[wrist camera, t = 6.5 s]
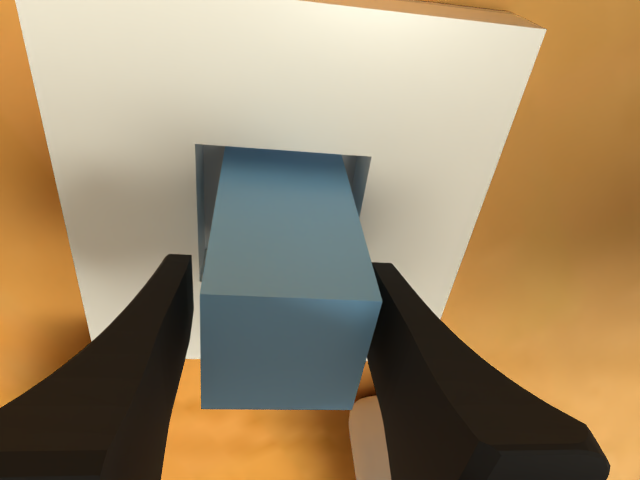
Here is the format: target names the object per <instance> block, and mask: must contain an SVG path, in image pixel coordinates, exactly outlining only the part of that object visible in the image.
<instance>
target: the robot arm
mask: <svg viewBox="0 0 640 480" xmlns="http://www.w3.org/2000/svg"><path fill="white" fill-rule="evenodd" d="M372 266H373V269H374V273H375V276H376V280H377V284H378V287H379V291H380V294H381V298H382V305H381V309H380V312H379V316H378V319H377V323H376V326H375V330H374V333H373V337H372V340H371V344H370V348H369V351H368V355H367V360H368V364H369V368H370V372H371V375H372V379H373V383H374V387H375V391H376V395H377V399H378V403H379V406H380V410H381V415H382V420H383V425H384V431H385V438H386V444H387V451H388V458H389V466H390V473H391V480H606V479H607V478H608V475H609V471H610V464H609V462H608V460H607V458H606V456H605V454H604V453H603V451H602V449H601V448H600V446H599V444H598V443H597V441H596V439H595V438H594V436H593V434H592V433H591V431H590V430H589V428H588V427H587V425H586V424H584V423H582V422H580V421H578V420H577V419H575V418H573V417H571V416H569V415H567V414H566V413H564V412H562V411H560V410H558V409H556V408H555V407H553V406H551V405H549V404H547V403H546V402H544V401H543V400H541V399H539V398H538V397H536V396H535V395H533V394H531V393H530V392H528V391H527V390H525V389H524V388H522V387H521V386H519V385H518V384H516V383H515V382H513V381H512V380H510V379H509V378H507V377H506V376H505V375H503V374H502V373H501V372H499V371H498V370H497V369H495V368H494V367H493V366H491V365H490V364H489V363H487V362H486V361H485V360H484V359H482V358H481V357H480V356H479V355H478V354H476V353H475V352H474V351H473V350H472V349H471V348H469V347H468V346H467V345H466V344H465V343H464V342H463V341H461V340H460V339H459V338H458V337H457V336H456V335H455V334H454V333H453V332H452V331H451V330H450V329H449V328H448V327H447V326H446V325H445V324H444V323H443V322H442V321H441V320H440V319H439V318H438V317H437V316H436V315H435V314H434V313H433V311H432V310H431V309H430V308H429V307H428V306H427V305H426V304H425V302H424V301H423V300H422V299H421V298H420V297H419V295H418V294H417V293H416V292H415V291H414V289H413V288H412V287H411V286H410V285H409V283H408V282H407V281H406V280H405V278H404V277H403V276H402V275H401V274H400V272H399V271H398V270H397V269H396V268H395V266H394V265H393V264H392V263H380V262H372ZM193 312H194V299H193V276H192V255H185V254H168V255H167V256H166V257H165V258H164V259H163V261H162V262H161V264H160V265H159V267H158V268H157V270H156V271H155V272H154V274H153V275H152V276H151V278H150V279H149V280H148V281H147V283H146V284H145V285H144V287H143V288H142V289H141V290H140V291H139V293H138V294H137V295H136V296H135V297H134V299H133V300H132V301H131V302H130V303H129V304H128V306H127V307H126V308H125V309H124V310H123V311H122V312H121V313H120V314H119V315H118V316H117V317H116V318H115V319H114V320H113V321H112V323H111V324H110V325H109V326H108V327H107V328H106V329H105V330H104V331H102V332H101V333H100V334H99V335H98V336H97V337H96V338H95V339H94V340H93V341H92V342H91V343H89V344H88V345H87V346H86V347H85V348H84V349H83V350H82V351H80V352H79V353H78V354H77V355H75V356H74V357H73V358H72V359H70V360H69V361H68V362H67V363H65V364H64V365H63V366H62V367H60V368H59V369H58V370H57V371H55V372H54V373H53V374H51V375H50V376H48V377H47V378H46V379H44V380H43V381H41V382H40V383H38V384H37V385H35V386H34V387H32V388H31V389H29V390H28V391H26V392H25V393H24V394H22V395H21V396H19V397H17V398H16V399H14V400H13V401H11V402H9V403H8V404H6V405H4V406H3V407H1V408H0V480H161V474H162V467H163V460H164V453H165V447H166V440H167V434H168V427H169V422H170V417H171V413H172V408H173V404H174V401H175V397H176V393H177V389H178V385H179V381H180V377H181V373H182V370H183V366H184V362H185V358H186V354H187V350H188V346H189V342H190V335H191V328H192V320H193Z"/></svg>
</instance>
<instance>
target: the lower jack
mask: <svg viewBox="0 0 640 480" xmlns="http://www.w3.org/2000/svg"><path fill="white" fill-rule="evenodd" d="M15 2H16V7H17V11H18V15H19V20H20V24H21V29H22V33H23V38H24V42H25V47H26V51H27V56H28V60H29V65H30V69H31V74H32V78H33V83H34V87H35V91H36V96H37V100H38V105H39V109H40V114H41V118H42V123H43V127H44V132H45V136H46V141H47V145H48V150H49V154H50V158H51V163H52V167H53V172H54V176H55V181H56V185H57V190H58V194H59V199H60V203H61V208H62V212H63V217H64V221H65V226H66V230H67V234H68V239H69V243H70V248H71V252H72V257H73V261H74V266H75V270H76V275H77V279H78V284H79V288H80V293H81V297H82V301H83V306H84V310H85V315H86V319H87V324H88V328H89V333H90V337H91V342H92V341H93V340H94V339H95V338H96V337H97V336H98V335H99V334H100V333H101V332H102V331H104V330H105V329H106V328H107V327H108V326H109V325H110V324H111V323H112V321H113V320H114V319H115V318H116V317H117V316H118V315H119V314H120V313H121V312H122V311H123V310H124V309H125V308H126V307H127V306H128V304H129V303H130V302H131V301H132V300H133V299H134V297H135V296H136V295H137V294H138V293H139V291H140V290H141V289H142V288H143V287H144V285H145V284H146V283H147V281H148V280H149V279H150V278H151V276H152V275H153V274H154V272H155V271H156V270H157V268H158V267H159V265H160V264H161V262H162V261H163V259H164V258H165V257H166V256H167V255H168V254H185V255H192V276H193V299H194V312H193V320H192V328H191V335H190V342H189V346H188V350H187V354H186V358H185V359H201V357H200V289H201V283H202V277H203V272H204V266H205V260H206V254H207V249H208V243H209V237H210V231H211V225H212V220H213V214H214V208H215V202H216V196H217V191H218V185H219V179H220V173H221V167H222V162H223V156H224V150H225V146H232V147H245V148H259V149H273V150H287V151H301V152H314V153H328V154H341V155H342V158H343V162H344V166H345V169H346V173H347V176H348V180H349V183H350V187H351V191H352V194H353V198H354V201H355V205H356V208H357V212H358V216H359V219H360V223H361V226H362V230H363V234H364V237H365V241H366V244H367V248H368V251H369V255H370V259H371V262H380V263H392V264H393V265H394V266H395V268H396V269H397V270H398V271H399V272H400V274H401V275H402V276H403V277H404V278H405V280H406V281H407V282H408V283H409V285H410V286H411V287H412V288H413V289H414V291H415V292H416V293H417V294H418V295H419V297H420V298H421V299H422V300H423V301H424V302H425V304H426V305H427V306H428V307H429V308H430V309H431V310H432V311H433V313H434V314H435V315H436V316H437V317H438V318H439V319H441V316H442V313H443V311H444V308H445V305H446V302H447V300H448V297H449V294H450V292H451V289H452V286H453V283H454V281H455V278H456V275H457V272H458V270H459V267H460V264H461V262H462V259H463V256H464V253H465V251H466V248H467V245H468V242H469V240H470V237H471V234H472V232H473V229H474V226H475V223H476V221H477V218H478V215H479V213H480V210H481V207H482V204H483V202H484V199H485V196H486V193H487V191H488V188H489V185H490V183H491V180H492V177H493V174H494V172H495V169H496V166H497V163H498V161H499V158H500V155H501V153H502V150H503V147H504V144H505V142H506V139H507V136H508V134H509V131H510V128H511V125H512V123H513V120H514V117H515V114H516V112H517V109H518V106H519V104H520V101H521V98H522V95H523V93H524V90H525V87H526V84H527V82H528V79H529V76H530V74H531V71H532V68H533V65H534V63H535V60H536V57H537V55H538V52H539V49H540V46H541V44H542V41H543V38H544V35H545V33H546V30H547V29H545V28H543V27H541V26H539V25H537V24H535V23H532V22H530V21H528V20H526V19H524V18H522V17H520V16H518V15H516V14H514V13H512V12H508V11H500V10H492V9H484V8H475V7H467V6H459V5H451V4H442V3H434V2H426V1H418V0H15ZM366 361H368V360H367V358H366Z"/></svg>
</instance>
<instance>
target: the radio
mask: <svg viewBox="0 0 640 480" xmlns="http://www.w3.org/2000/svg"><path fill="white" fill-rule="evenodd" d="M349 433H350V440H351V447H352V454H353V461H354V468H355V476H356V480H391V473H390V466H389V458H388V451H387V444H386V438H385V431H384V425H383V420H382V415H381V410H380V406H379V403H378V399H377V395H375V396H370V397H365V398H362V399H359V400H358V401H356V402H355V403H354V404H353V408H352V410H350V415H349Z"/></svg>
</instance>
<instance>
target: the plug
mask: <svg viewBox="0 0 640 480" xmlns="http://www.w3.org/2000/svg"><path fill="white" fill-rule="evenodd" d="M381 305H382V298H381V294H380V291H379V287H378V284H377V280H376V276H375V273H374V269H373V266H372V262H371V259H370V255H369V251H368V248H367V244H366V241H365V237H364V234H363V230H362V226H361V223H360V219H359V216H358V212H357V208H356V205H355V201H354V198H353V194H352V191H351V187H350V183H349V180H348V176H347V173H346V169H345V166H344V162H343V158H342V155H341V154H328V153H314V152H301V151H287V150H273V149H259V148H245V147H232V146H225V150H224V156H223V162H222V167H221V173H220V179H219V185H218V191H217V196H216V202H215V208H214V214H213V220H212V225H211V231H210V237H209V243H208V249H207V254H206V260H205V266H204V272H203V277H202V283H201V289H200V357H201V409H275V410H352V408H353V404H354V401H355V397H356V394H357V390H358V387H359V383H360V380H361V376H362V372H363V369H364V365H365V362H366V358H367V355H368V351H369V348H370V344H371V340H372V337H373V333H374V330H375V326H376V323H377V319H378V316H379V312H380V309H381Z"/></svg>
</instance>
